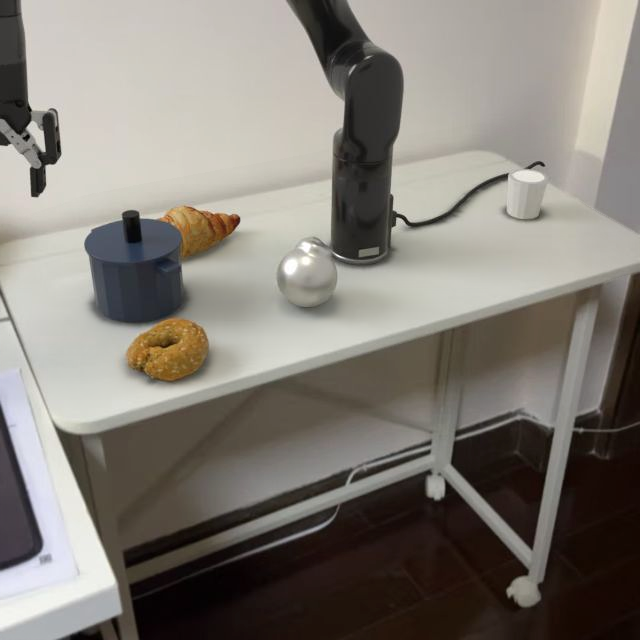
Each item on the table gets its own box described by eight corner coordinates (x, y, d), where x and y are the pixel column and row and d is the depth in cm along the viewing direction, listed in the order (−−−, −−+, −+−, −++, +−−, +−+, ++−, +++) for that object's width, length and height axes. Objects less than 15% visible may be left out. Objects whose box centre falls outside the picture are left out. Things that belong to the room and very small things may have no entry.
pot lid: (143, 216, 131) (140, 185, 129) (202, 246, 124) (200, 213, 121) (66, 246, 123) (60, 213, 120) (123, 280, 115) (119, 245, 113)
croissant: (130, 288, 137) (134, 259, 131) (105, 239, 141) (108, 208, 135) (247, 252, 147) (256, 223, 140) (221, 208, 151) (229, 178, 144)
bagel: (131, 341, 119) (127, 312, 116) (212, 340, 119) (210, 310, 117) (121, 385, 110) (117, 354, 108) (208, 383, 111) (206, 352, 108)
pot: (138, 264, 137) (132, 209, 132) (213, 306, 127) (209, 248, 122) (69, 293, 129) (59, 236, 124) (142, 340, 119) (135, 280, 114)
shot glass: (547, 210, 156) (554, 173, 152) (534, 224, 151) (540, 187, 147) (511, 201, 159) (517, 165, 155) (497, 214, 154) (502, 177, 150)
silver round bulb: (352, 304, 128) (354, 243, 123) (301, 325, 123) (301, 263, 117) (314, 279, 134) (314, 221, 128) (264, 299, 129) (262, 238, 123)
